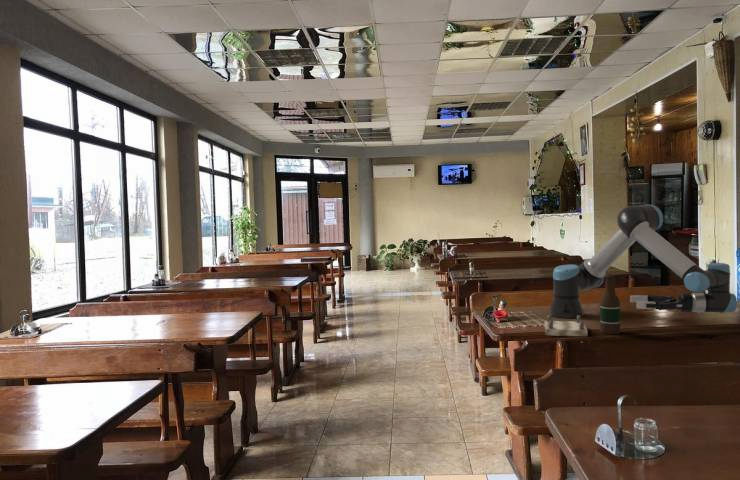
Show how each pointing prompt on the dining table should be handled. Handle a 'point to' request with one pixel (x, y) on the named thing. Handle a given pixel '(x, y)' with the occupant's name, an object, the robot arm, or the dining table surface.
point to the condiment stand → (565, 327)
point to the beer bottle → (610, 308)
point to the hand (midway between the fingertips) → (633, 301)
